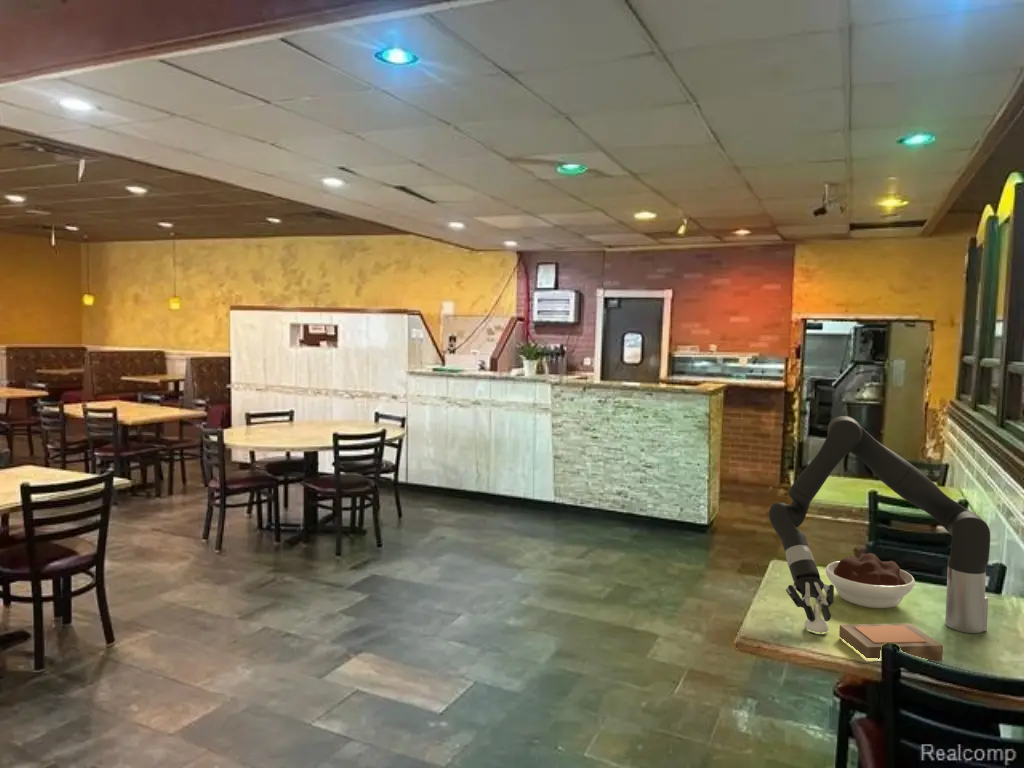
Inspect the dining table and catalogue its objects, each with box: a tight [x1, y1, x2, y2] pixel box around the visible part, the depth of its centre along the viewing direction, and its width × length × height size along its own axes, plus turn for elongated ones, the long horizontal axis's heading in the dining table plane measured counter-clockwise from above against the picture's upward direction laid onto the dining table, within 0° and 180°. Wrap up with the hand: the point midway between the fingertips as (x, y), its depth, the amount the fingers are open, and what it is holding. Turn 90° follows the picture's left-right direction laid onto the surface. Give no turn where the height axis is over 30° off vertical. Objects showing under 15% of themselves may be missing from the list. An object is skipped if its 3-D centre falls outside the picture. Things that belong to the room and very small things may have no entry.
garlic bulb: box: [803, 603, 829, 633], centre depth 198 cm, size 6×6×8 cm
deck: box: [838, 623, 944, 662], centre depth 186 cm, size 20×14×4 cm
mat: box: [854, 626, 927, 643], centre depth 186 cm, size 14×10×1 cm
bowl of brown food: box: [825, 552, 916, 609], centre depth 220 cm, size 25×25×15 cm
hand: (820, 620), depth 196 cm, fingers closed on garlic bulb, 3 cm apart
